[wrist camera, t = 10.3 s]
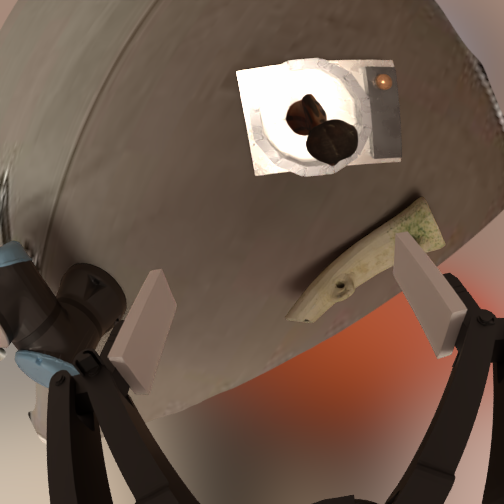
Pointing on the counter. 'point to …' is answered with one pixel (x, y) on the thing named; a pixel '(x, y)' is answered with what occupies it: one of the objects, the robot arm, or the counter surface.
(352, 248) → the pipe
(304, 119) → the figurine
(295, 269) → the counter surface
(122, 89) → the counter surface
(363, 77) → the white flat device
